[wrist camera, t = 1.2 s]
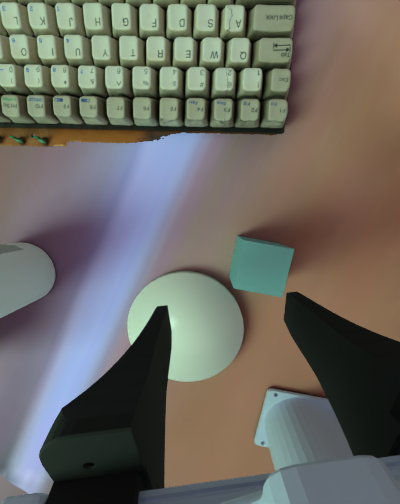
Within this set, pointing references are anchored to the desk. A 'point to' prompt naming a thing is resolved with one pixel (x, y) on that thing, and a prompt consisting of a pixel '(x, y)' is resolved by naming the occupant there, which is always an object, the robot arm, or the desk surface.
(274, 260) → the teal block
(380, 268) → the desk surface
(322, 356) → the robot arm
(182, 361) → the dish
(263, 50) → the mechanical keyboard
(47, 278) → the spray bottle
